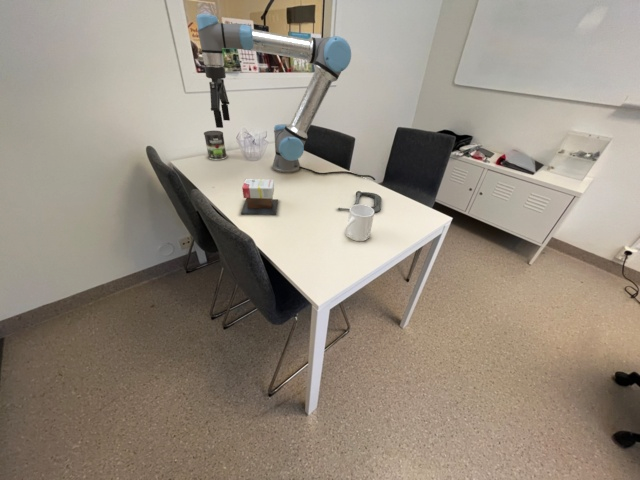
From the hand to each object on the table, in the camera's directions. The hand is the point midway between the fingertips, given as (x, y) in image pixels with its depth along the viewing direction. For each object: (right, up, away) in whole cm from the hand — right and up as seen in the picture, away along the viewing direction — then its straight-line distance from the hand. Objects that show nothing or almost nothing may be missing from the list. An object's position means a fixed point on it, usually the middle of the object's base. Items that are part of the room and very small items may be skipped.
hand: (223, 123), depth 116 cm
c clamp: (+62, -35, +3) cm, 71 cm away
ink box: (+12, -30, -9) cm, 34 cm away
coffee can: (-19, -2, +41) cm, 45 cm away
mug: (+56, -50, -18) cm, 77 cm away
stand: (+18, -38, -5) cm, 42 cm away
